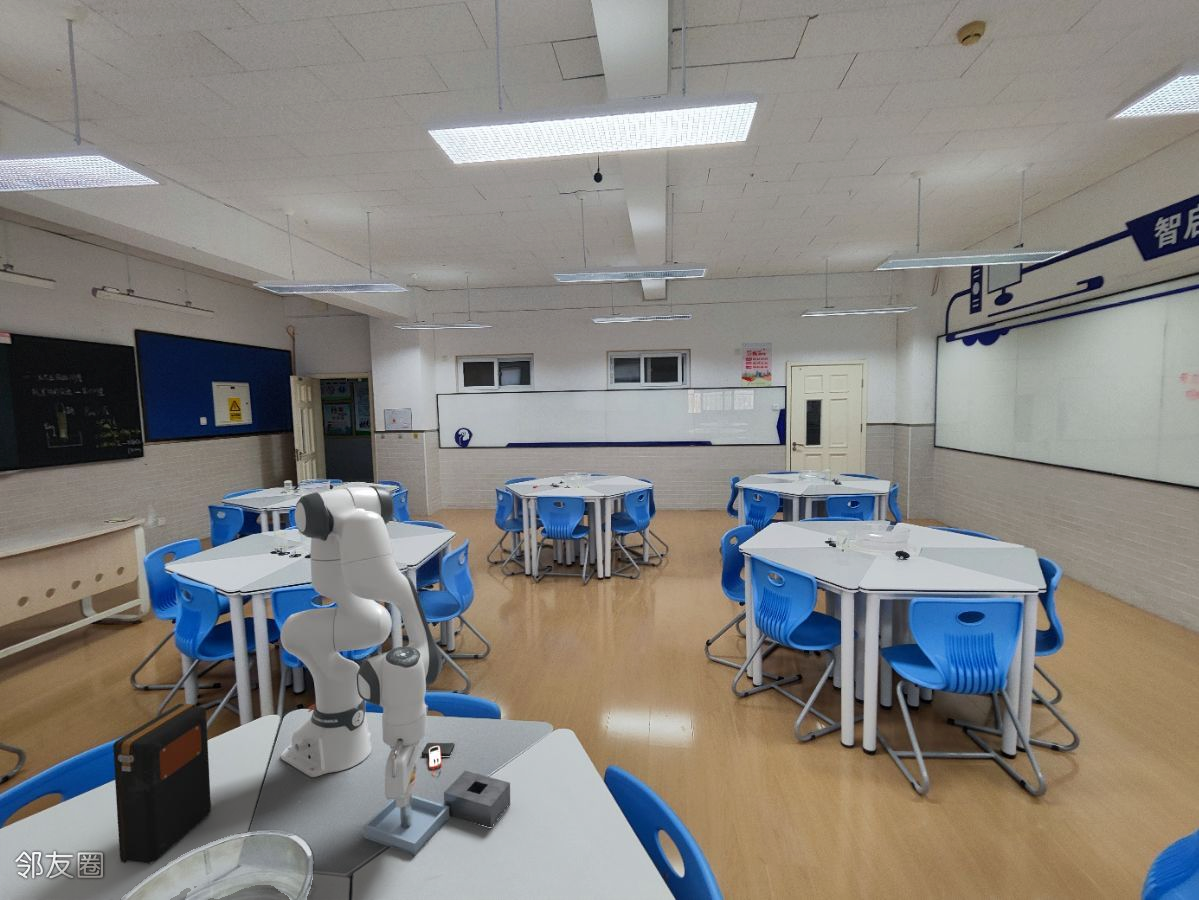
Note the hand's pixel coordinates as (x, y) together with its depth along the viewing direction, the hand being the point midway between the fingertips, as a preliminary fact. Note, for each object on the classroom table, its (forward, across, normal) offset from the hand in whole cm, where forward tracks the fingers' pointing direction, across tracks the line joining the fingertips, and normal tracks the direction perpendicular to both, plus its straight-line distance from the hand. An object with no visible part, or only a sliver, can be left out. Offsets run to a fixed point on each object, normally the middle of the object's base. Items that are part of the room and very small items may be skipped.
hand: (406, 789), depth 117 cm
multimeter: (+9, +20, -3) cm, 22 cm away
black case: (+9, +3, +49) cm, 50 cm away
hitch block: (+8, +4, -14) cm, 17 cm away
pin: (+8, 0, 0) cm, 8 cm away
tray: (+8, 0, 0) cm, 8 cm away
